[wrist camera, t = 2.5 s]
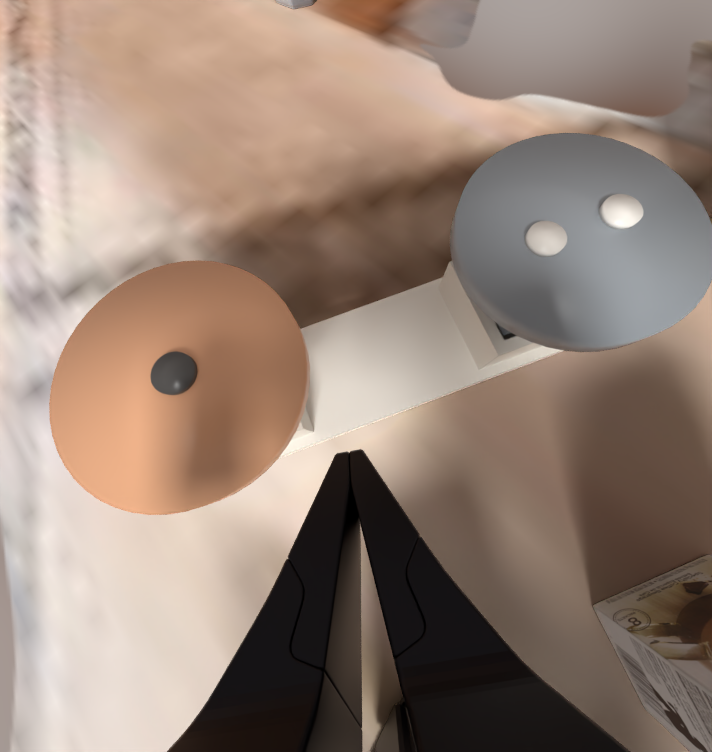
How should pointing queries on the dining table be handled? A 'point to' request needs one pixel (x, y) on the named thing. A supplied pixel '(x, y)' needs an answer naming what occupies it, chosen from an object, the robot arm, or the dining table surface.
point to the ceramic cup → (296, 3)
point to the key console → (401, 358)
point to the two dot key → (581, 242)
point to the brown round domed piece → (179, 388)
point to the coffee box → (668, 648)
